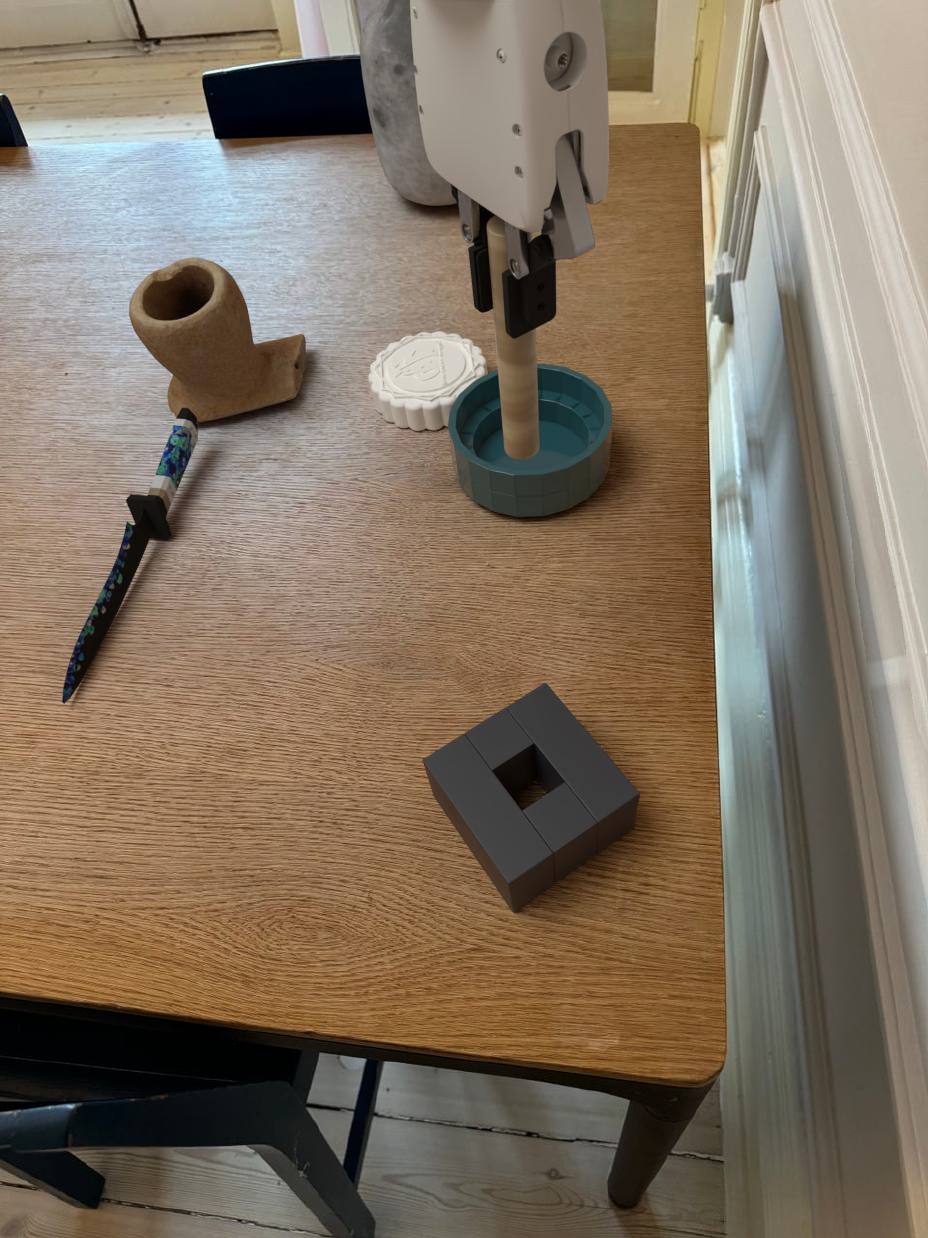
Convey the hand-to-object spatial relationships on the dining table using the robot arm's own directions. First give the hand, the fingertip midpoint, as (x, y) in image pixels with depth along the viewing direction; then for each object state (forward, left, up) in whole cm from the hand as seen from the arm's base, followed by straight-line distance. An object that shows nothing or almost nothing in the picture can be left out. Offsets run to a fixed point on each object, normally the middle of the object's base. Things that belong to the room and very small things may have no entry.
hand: (514, 311), depth 49 cm
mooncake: (-7, -27, -27) cm, 39 cm away
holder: (+11, +16, -27) cm, 33 cm away
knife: (+26, -24, -27) cm, 45 cm away
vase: (-29, -59, -27) cm, 71 cm away
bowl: (-9, -12, -27) cm, 31 cm away
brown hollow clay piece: (+9, -39, -27) cm, 49 cm away
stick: (0, 0, -11) cm, 11 cm away
